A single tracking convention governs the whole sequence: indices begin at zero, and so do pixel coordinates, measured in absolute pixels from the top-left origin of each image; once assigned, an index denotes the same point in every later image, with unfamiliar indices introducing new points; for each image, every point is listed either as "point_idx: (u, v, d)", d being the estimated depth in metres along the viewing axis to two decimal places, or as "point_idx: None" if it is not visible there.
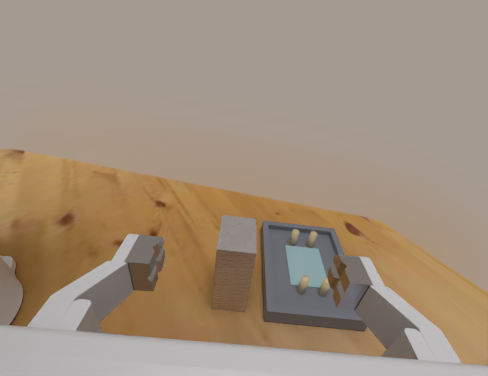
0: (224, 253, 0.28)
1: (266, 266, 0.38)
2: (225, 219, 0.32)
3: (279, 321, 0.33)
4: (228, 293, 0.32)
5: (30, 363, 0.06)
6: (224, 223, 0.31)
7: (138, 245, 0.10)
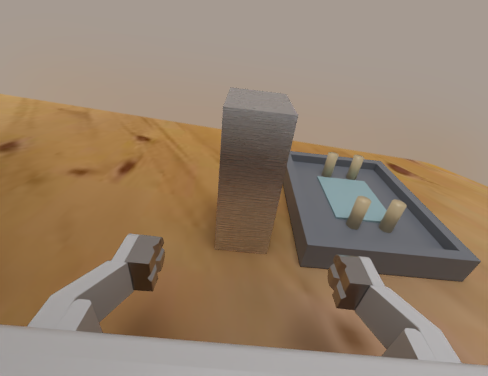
0: (237, 117, 0.15)
1: (296, 193, 0.25)
2: (236, 90, 0.19)
3: (326, 265, 0.20)
4: (242, 214, 0.19)
5: (30, 363, 0.06)
6: (233, 92, 0.18)
7: (138, 245, 0.10)
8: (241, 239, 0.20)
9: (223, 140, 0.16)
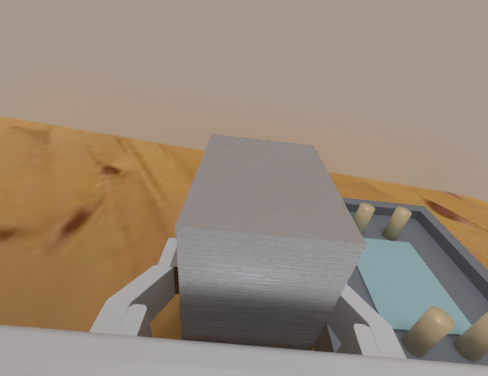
0: (214, 245, 0.06)
1: None
2: (221, 142, 0.10)
3: None
4: None
5: (30, 363, 0.06)
6: (215, 150, 0.09)
7: None
8: None
9: (184, 283, 0.07)
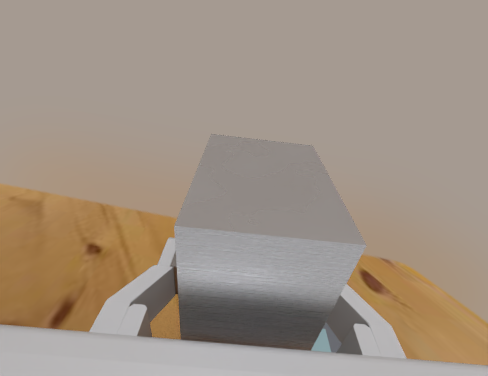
0: (212, 246, 0.06)
1: None
2: (220, 142, 0.10)
3: None
4: None
5: (30, 363, 0.06)
6: (214, 150, 0.09)
7: None
8: None
9: (183, 284, 0.07)
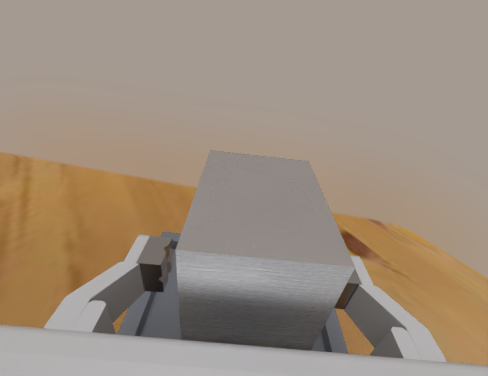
0: (211, 267, 0.06)
1: None
2: (219, 159, 0.10)
3: None
4: None
5: (30, 363, 0.06)
6: (213, 167, 0.10)
7: (149, 246, 0.10)
8: None
9: (183, 300, 0.07)
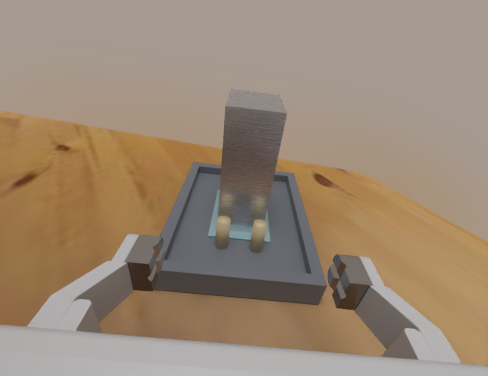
0: (237, 114, 0.18)
1: (174, 210, 0.25)
2: (236, 91, 0.22)
3: (174, 288, 0.20)
4: (241, 198, 0.22)
5: (30, 363, 0.06)
6: (234, 93, 0.21)
7: (138, 245, 0.10)
8: (240, 220, 0.23)
9: (225, 133, 0.19)
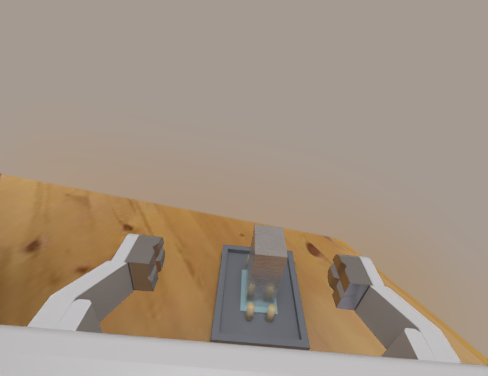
0: (261, 257, 0.33)
1: (218, 292, 0.40)
2: (257, 228, 0.38)
3: None
4: (260, 291, 0.38)
5: (30, 363, 0.06)
6: (257, 232, 0.37)
7: (138, 245, 0.10)
8: (259, 301, 0.39)
9: (254, 264, 0.34)
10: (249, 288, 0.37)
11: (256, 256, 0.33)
